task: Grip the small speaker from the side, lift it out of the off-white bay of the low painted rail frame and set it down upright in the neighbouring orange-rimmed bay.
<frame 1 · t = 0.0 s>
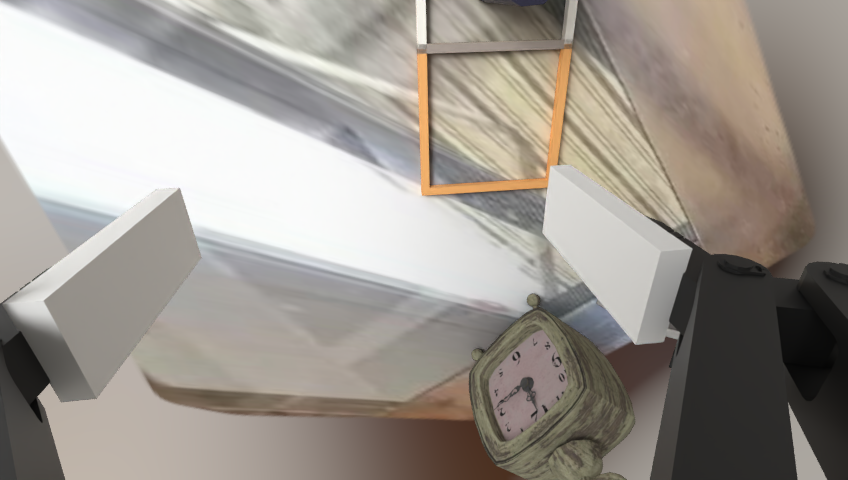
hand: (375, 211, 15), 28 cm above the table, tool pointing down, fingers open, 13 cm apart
seat rail: (494, 46, 39), on the table
tabletop clock: (516, 332, 56), on the table
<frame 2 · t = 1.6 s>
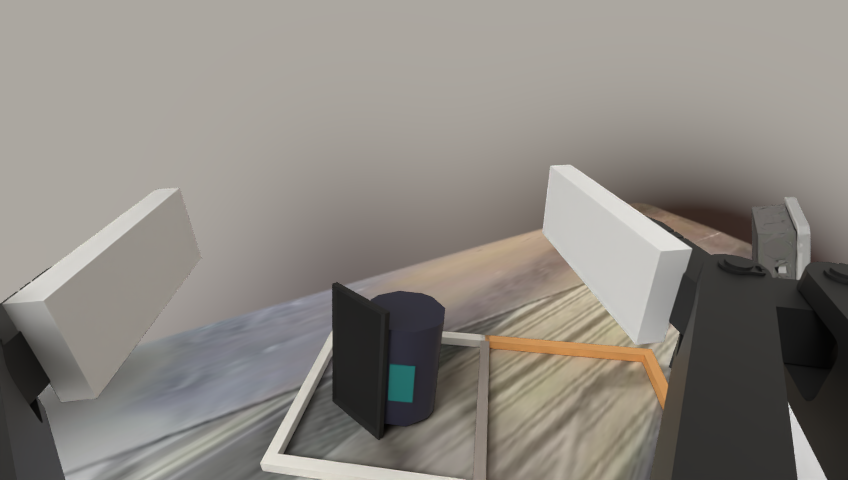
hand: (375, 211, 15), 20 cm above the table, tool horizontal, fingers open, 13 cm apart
seat rail: (482, 405, 32), on the table
electrical switch: (766, 289, 45), on the table
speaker: (394, 398, 33), on the table
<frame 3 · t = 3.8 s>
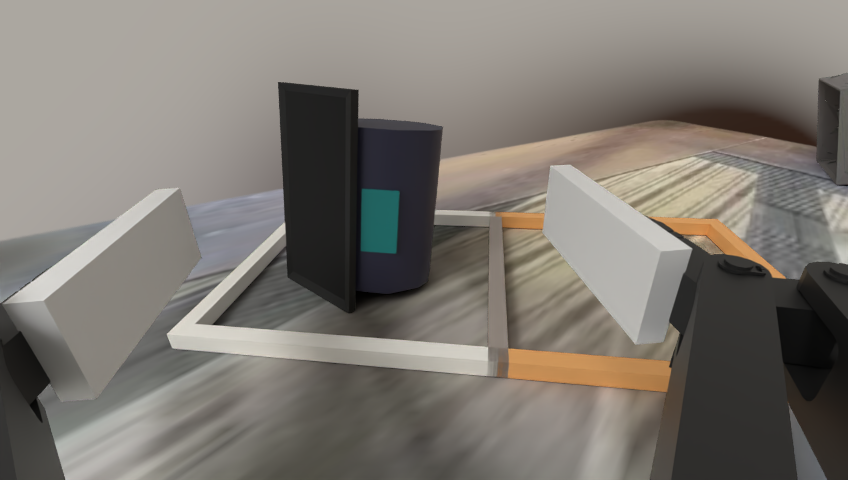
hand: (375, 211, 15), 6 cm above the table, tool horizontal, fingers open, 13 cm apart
seat rail: (495, 277, 23), on the table
electrical switch: (840, 177, 36), on the table
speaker: (374, 274, 24), on the table
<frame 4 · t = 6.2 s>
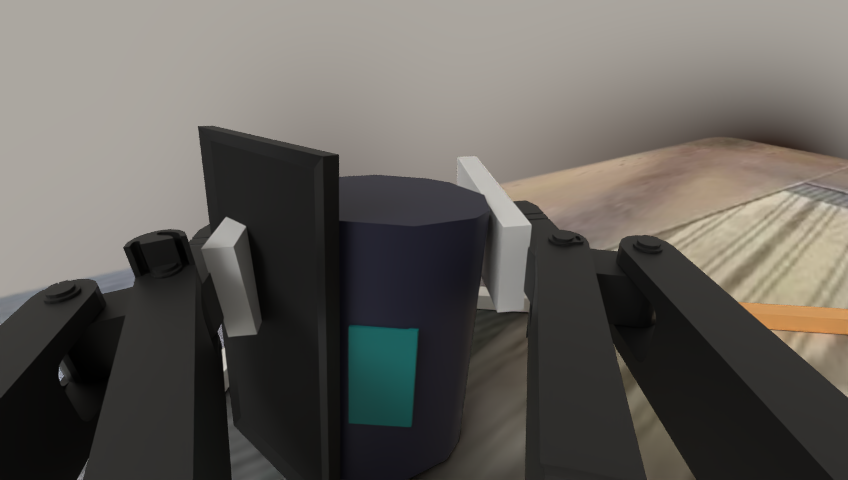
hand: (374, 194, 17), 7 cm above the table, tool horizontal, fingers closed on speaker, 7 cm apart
seat rail: (584, 430, 14), on the table
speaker: (370, 413, 15), on the table, touching gripper
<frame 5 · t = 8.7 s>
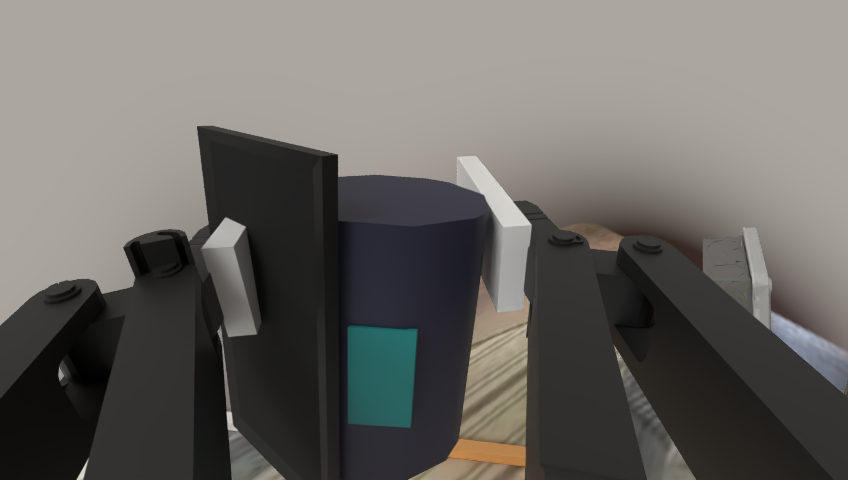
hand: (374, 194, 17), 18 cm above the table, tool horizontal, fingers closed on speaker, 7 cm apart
electrical switch: (721, 345, 35), on the table
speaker: (370, 413, 15), point 12 cm above the table, touching gripper
when the fingers open (7 cm above the table, at t = 11.3 s): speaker stays where it is, on the table.
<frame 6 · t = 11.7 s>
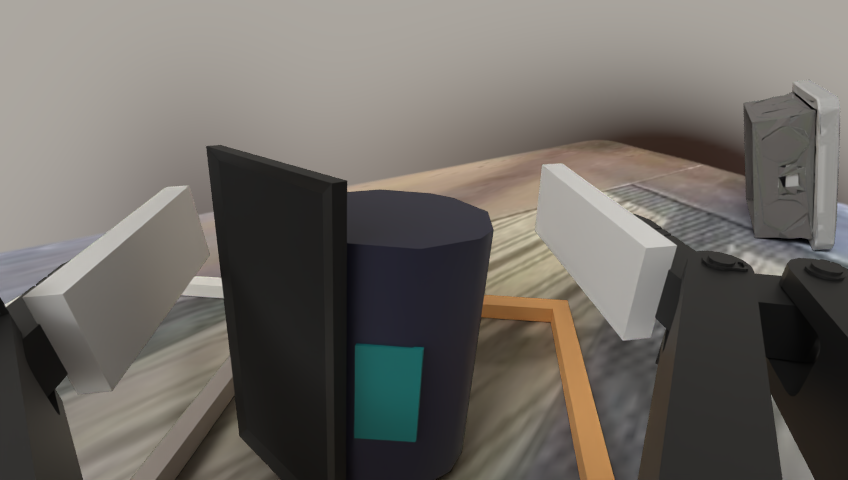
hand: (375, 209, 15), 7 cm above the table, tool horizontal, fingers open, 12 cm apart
seat rail: (220, 400, 16), on the table
electrical switch: (767, 224, 30), on the table
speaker: (374, 423, 16), on the table
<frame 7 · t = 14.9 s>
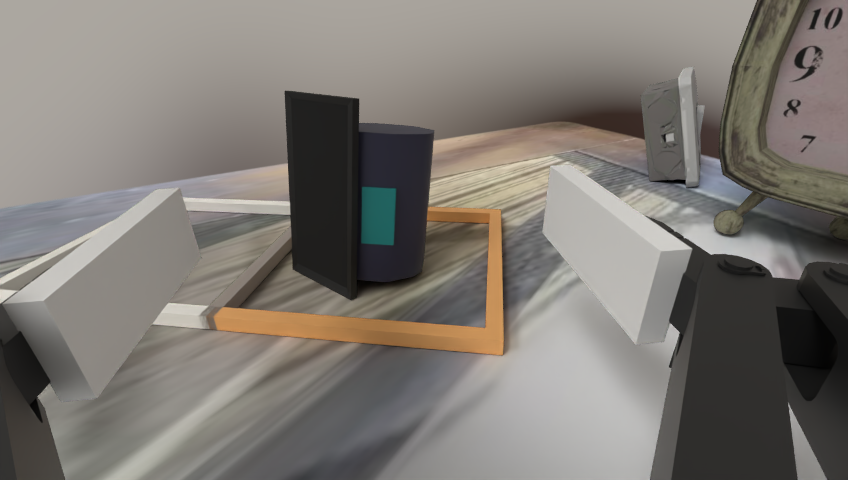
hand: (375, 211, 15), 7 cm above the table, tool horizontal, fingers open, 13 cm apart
seat rail: (278, 256, 27), on the table
electrical switch: (664, 174, 40), on the table
tabletop clock: (835, 251, 26), on the table
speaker: (372, 266, 26), on the table
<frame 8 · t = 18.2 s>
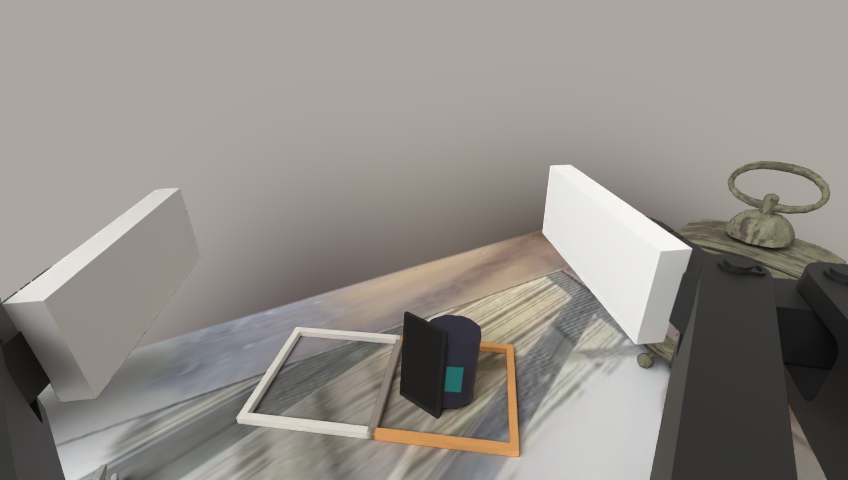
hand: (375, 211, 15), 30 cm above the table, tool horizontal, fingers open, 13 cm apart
seat rail: (387, 383, 47), on the table
tabletop clock: (701, 380, 47), on the table
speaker: (442, 390, 46), on the table
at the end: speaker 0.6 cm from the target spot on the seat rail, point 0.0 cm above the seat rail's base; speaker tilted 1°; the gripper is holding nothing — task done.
